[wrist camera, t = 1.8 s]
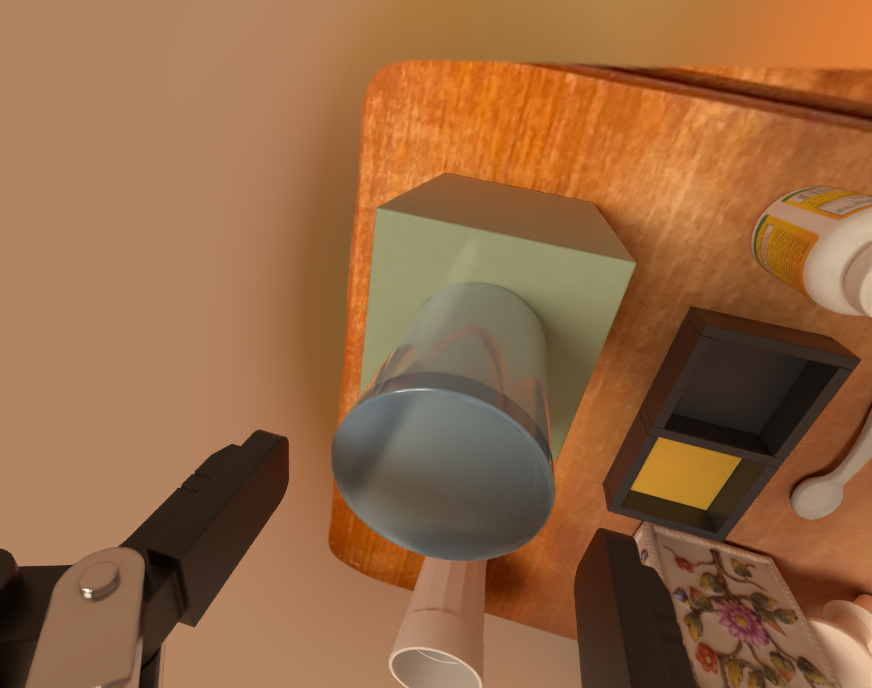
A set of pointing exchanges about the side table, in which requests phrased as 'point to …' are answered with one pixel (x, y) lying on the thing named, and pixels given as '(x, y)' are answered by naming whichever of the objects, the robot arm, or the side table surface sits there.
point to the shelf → (501, 272)
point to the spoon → (832, 480)
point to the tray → (722, 420)
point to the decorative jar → (735, 614)
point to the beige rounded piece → (847, 639)
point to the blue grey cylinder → (454, 430)
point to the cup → (443, 628)
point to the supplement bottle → (820, 246)
